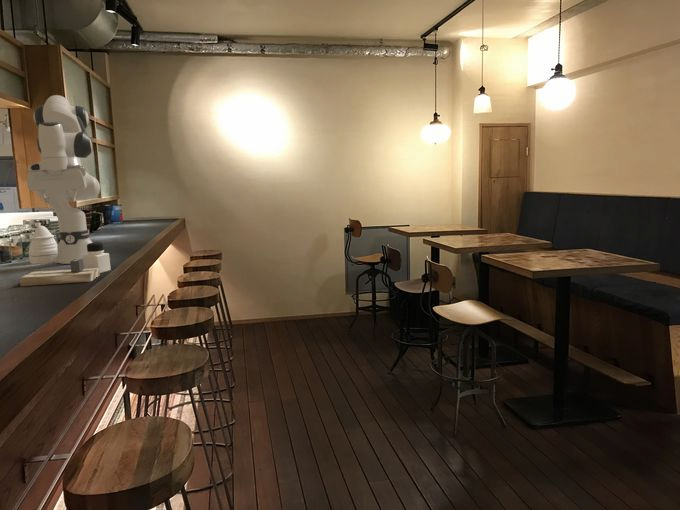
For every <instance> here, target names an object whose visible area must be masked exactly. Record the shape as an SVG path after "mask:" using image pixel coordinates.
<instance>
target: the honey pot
mask: <svg viewBox="0 0 680 510" xmlns="http://www.w3.org/2000/svg"><path fill="white" fill-rule="evenodd" d="M33 224H34V226H35V227H36V229H35V231H34V233H33V234H32V235H31V236H29V237H28V238H29V240H31V241H30V243H29V250H28V259H29V264H32V265H34V264H35V265H39V264H40V265H41V264H50V263H55V260H58V251H57V245H58V243H57V241H56V239H55V238H54V237H55V235H54V234H52V233H51V232H50V230H49V229H48V228H47V227H46V226H43V225H41V222H34V223H33Z"/></svg>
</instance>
